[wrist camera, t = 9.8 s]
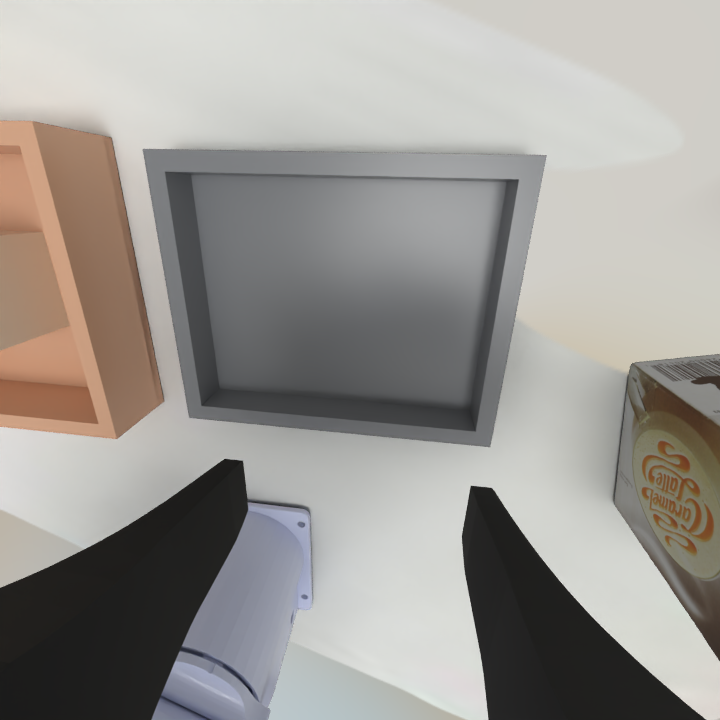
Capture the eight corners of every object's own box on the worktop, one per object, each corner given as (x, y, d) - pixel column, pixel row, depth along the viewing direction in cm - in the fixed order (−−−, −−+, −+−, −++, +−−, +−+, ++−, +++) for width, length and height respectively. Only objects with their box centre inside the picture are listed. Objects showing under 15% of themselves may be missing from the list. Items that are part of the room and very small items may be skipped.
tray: (481, 420, 21) (490, 447, 18) (212, 395, 22) (189, 417, 20) (527, 161, 16) (546, 155, 14) (178, 155, 18) (142, 149, 15)
